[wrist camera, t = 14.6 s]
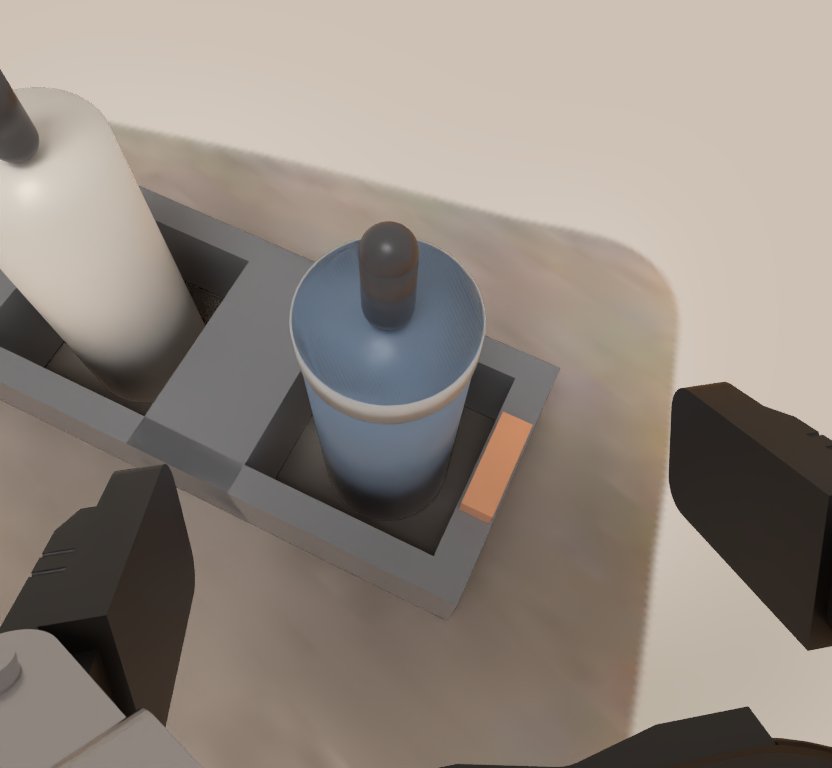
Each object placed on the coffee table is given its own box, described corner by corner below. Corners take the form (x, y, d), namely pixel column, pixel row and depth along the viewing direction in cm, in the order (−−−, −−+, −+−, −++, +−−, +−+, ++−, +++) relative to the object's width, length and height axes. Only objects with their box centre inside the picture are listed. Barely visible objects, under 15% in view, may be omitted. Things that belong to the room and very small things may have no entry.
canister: (303, 489, 26) (222, 280, 13) (360, 386, 28) (338, 111, 15) (416, 543, 26) (448, 380, 13) (467, 434, 27) (542, 192, 14)
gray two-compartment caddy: (-13, 393, 27) (-375, 111, 14) (118, 226, 30) (-81, -129, 17) (446, 620, 25) (514, 529, 12) (537, 412, 28) (670, 157, 15)
